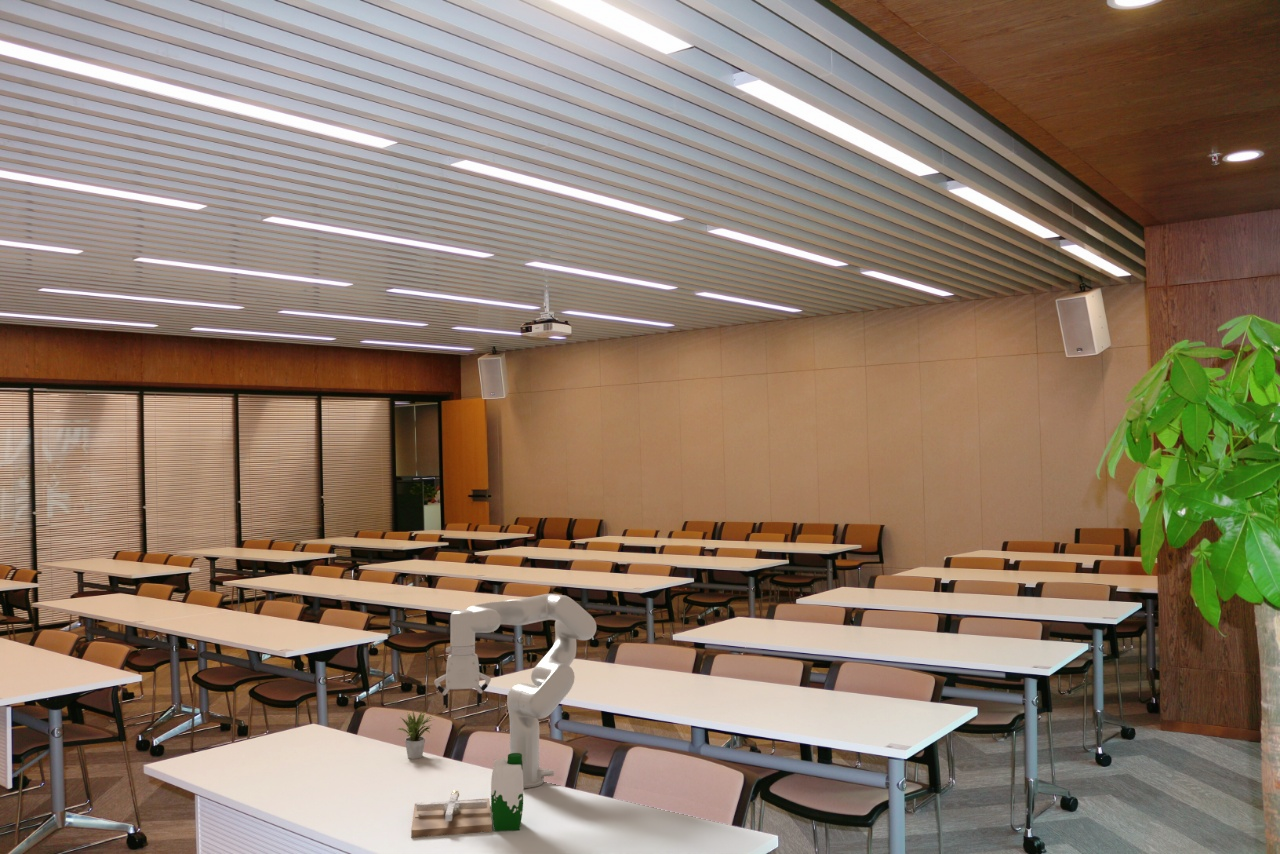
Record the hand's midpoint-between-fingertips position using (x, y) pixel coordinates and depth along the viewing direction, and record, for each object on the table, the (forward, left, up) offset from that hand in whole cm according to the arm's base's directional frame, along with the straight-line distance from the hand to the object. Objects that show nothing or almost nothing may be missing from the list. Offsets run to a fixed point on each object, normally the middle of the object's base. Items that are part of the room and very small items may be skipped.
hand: (462, 706), depth 296 cm
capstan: (+3, +18, -26) cm, 32 cm away
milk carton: (-13, +26, -28) cm, 40 cm away
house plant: (+16, -48, -28) cm, 58 cm away
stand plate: (+3, +18, -28) cm, 34 cm away
